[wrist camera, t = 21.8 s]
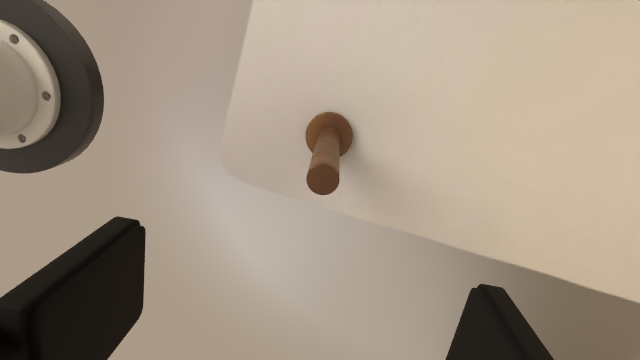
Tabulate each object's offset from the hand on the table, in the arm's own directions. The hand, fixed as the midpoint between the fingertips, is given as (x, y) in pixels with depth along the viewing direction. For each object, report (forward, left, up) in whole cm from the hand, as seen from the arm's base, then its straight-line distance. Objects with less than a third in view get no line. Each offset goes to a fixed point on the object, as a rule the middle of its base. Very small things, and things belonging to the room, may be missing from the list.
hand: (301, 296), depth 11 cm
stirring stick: (0, -1, -26) cm, 26 cm away
